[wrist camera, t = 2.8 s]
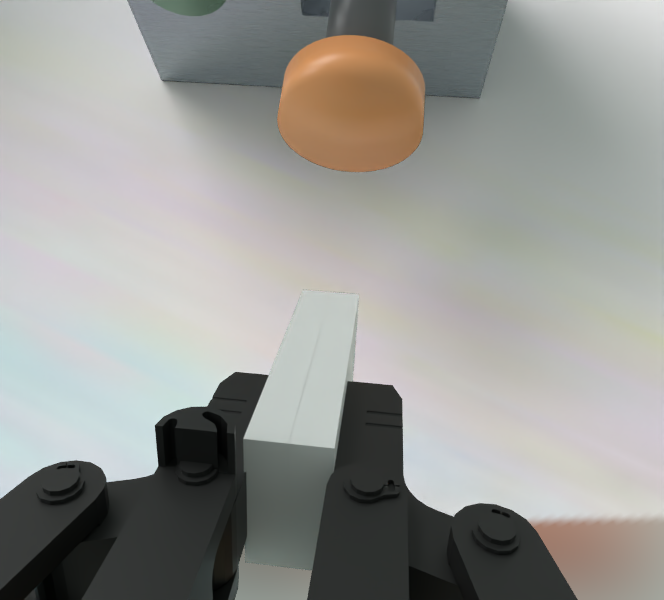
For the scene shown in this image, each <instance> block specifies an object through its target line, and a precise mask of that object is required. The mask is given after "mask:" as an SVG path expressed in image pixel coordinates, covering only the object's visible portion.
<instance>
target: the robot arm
mask: <svg viewBox="0 0 664 600" xmlns="http://www.w3.org/2000/svg"><path fill="white" fill-rule="evenodd" d="M358 302H359V294H352V293H340V292H328V291H316V290H304V289H303V291H302V294H301V296H300V299H299V301H298V304H297V306H296V309H295V311H294V314H293V316H292V319H291V321H290V324H289V326H288V329H287V331H286V334H285V336H284V339H283V341H282V344H281V346H280V349H279V351H278V354H277V356H276V359H275V361H274V364H273V366H272V369H271V371H270V374H269V375H262V374H251V373H241V372H235V373H233V374H232V375H231V376H229V377H228V378H227V379H225V380H224V381H222V382H221V383H220V384H219V386H218V388H217V390H216V392H215V393H214V395H213V399H212V400H211V401H210V403H209V405H208V406H207V407H189V408H185V409H181V410H176V411H174V412H172V413H170V414H168V415H166V416H164V417H163V418H162V419H161V420H160V421H159V422H158V423H157V424H156V425H155V432H156V443H157V454H158V468H157V470H156V471H155V473H154V474H153V475H150V476H147V477H142V478H137V479H131V480H123V481H115V482H106V476H105V474H104V473H103V471H102V469H101V468H100V467H98V466H96V465H94V464H93V463H91V462H84V461H68V462H60V463H57V464H54V465H51V466H48V467H45V468H43V469H41V470H39V471H38V472H36V473H34V474H33V475H31V476H29V477H28V478H27V479H25V480H24V481H23V482H22V483H20V484H19V485H18V486H16V487H15V488H14V489H13V490H11V491H10V492H9V493H8V494H6V495H5V496H4V497H3V498H1V499H0V600H235V597H236V593H237V590H238V579H239V570H238V564H239V561H240V557H241V554H242V551H243V548H244V545H245V562H247V563H256V564H263V565H272V566H280V567H289V568H296V569H305V570H312V575H311V581H310V587H309V593H308V598H307V600H577V598H576V596H575V595H574V593H573V591H572V590H571V588H570V586H569V585H568V583H567V581H566V580H565V578H564V576H563V575H562V573H561V571H560V570H559V568H558V566H557V565H556V563H555V561H554V560H553V558H552V556H551V555H550V553H549V551H548V550H547V548H546V546H545V545H544V543H543V541H542V540H541V538H540V536H539V535H538V533H537V531H536V530H535V529H534V528H533V527H532V526H531V524H530V523H529V522H528V521H527V520H526V519H525V518H523V517H521V516H520V515H518V514H517V513H515V512H514V511H512V510H510V509H507V508H504V507H501V506H498V505H494V504H482V503H479V504H474V505H470V506H466V507H464V508H463V509H462V510H460V511H459V512H458V513H456V514H455V517H453V516H450V515H447V514H445V513H442V512H439V511H437V510H435V509H432V508H430V507H428V506H426V505H425V504H423V503H422V502H420V501H419V500H417V499H416V498H415V497H414V496H413V495H412V493H411V492H410V491H409V490H408V488H407V486H406V484H405V481H404V476H403V429H402V427H403V424H402V398H401V397H400V395H399V394H398V393H397V391H396V390H395V388H394V387H393V385H383V384H372V383H362V382H353V371H354V358H355V344H356V330H357V316H358Z"/></svg>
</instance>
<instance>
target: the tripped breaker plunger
mask: <svg viewBox="0 0 664 600" xmlns="http://www.w3.org/2000/svg"><path fill="white" fill-rule="evenodd" d="M396 5H397V0H331V3H330V10H329V17H328V25H327V32H326V38H324V39H321V40H318V41H315V42H313V43H311V44H309V45H307V46H306V47H304V48H303V49H301V50H300V51H299V52H298V53H297V54H296V55H295V56H294V57H293V58H292V59H291V61H290V62H289V64H288V66H287V68H286V71H285V74H284V80H283V86H282V92H281V98H280V104H279V110H278V117H277V122H278V128H279V131H280V134H281V136H282V138H283V139H284V140H285V142H286V143H287V144H288V145H289V147H290V148H291V149H292V150H294V151H295V152H296V153H297V154H299V155H300V156H302V157H303V158H305V159H307V160H308V161H310V162H313V163H315V164H317V165H320V166H323V167H326V168H330V169H334V170H339V171H347V172H368V171H376V170H380V169H384V168H387V167H391V166H393V165H395V164H398V163H399V162H401V161H403V160H405V159H406V158H407V157H409V156H410V155H411V154H412V153H413V152H414V151H415V150H416V148H417V147H418V146H419V144H420V142H421V139H422V135H423V123H424V104H425V82H424V79H423V75H422V73H421V71H420V69H419V68H418V66H417V65H416V64H415V62H414V61H413V60H412V59H411V58H410V57H409V56H408V55H407V54H405V53H404V52H403V51H402V50H400V49H398V48H397V47H395V46H393V42H394V30H395V18H396Z"/></svg>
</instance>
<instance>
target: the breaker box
mask: <svg viewBox="0 0 664 600" xmlns="http://www.w3.org/2000/svg"><path fill="white" fill-rule="evenodd" d="M127 1H128V3H129V5H130V8H131V10H132V12H133V15H134V17H135V19H136V22H137V24H138V26H139V29H140V31H141V33H142V36H143V38H144V40H145V43H146V45H147V47H148V50H149V52H150V54H151V57H152V59H153V61H154V64H155V66H156V68H157V71H158V73H159V75H160V78H161V80H165V81H183V82H201V83H219V84H237V85H256V86H274V87H282V86H283V80H284V74H285V71H286V68H287V66H288V64H289V62H290V61H291V59H292V58H293V57H294V56H295V55H296V54H297V53H298V52H299V51H300V50H301V49H303V48H304V47H306V46H307V45H309V44H311V43H313V42H315V41H318V40H321V39H324V38H326V32H327V25H328V17H329V10H330V3H331V0H127ZM507 1H508V0H397V5H396V18H395V30H394V42H393V46H395V47H397V48H398V49H400V50H402V51H403V52H404V53H405V54H407V55H408V56H409V57H410V58H411V59H412V60H413V61H414V62H415V64H416V65H417V66H418V68H419V69H420V71H421V73H422V75H423V79H424V82H425V95H436V96H454V97H472V98H480V95H481V91H482V88H483V84H484V81H485V77H486V74H487V70H488V67H489V64H490V60H491V57H492V53H493V50H494V46H495V43H496V39H497V36H498V32H499V29H500V26H501V22H502V19H503V15H504V12H505V8H506V5H507Z"/></svg>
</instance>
